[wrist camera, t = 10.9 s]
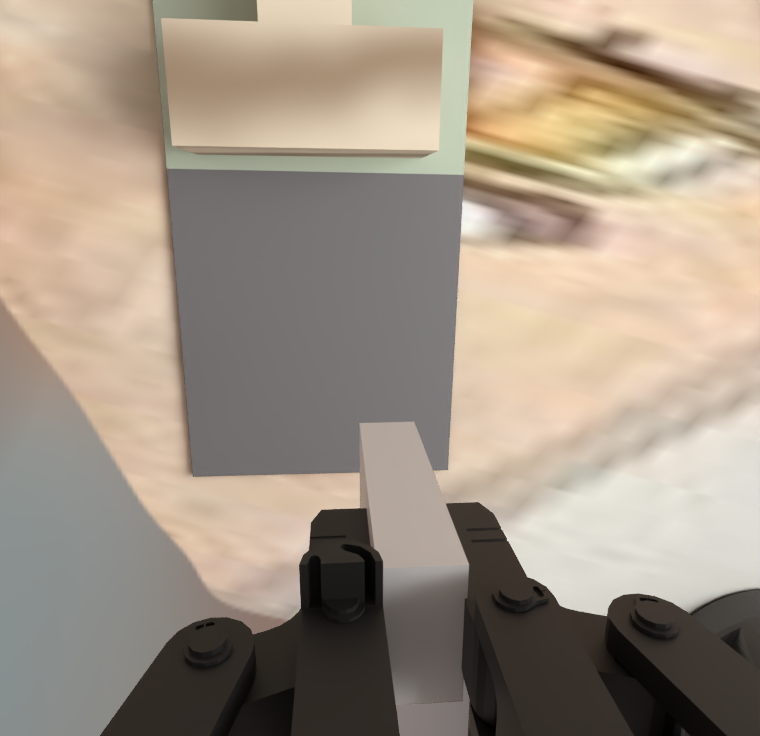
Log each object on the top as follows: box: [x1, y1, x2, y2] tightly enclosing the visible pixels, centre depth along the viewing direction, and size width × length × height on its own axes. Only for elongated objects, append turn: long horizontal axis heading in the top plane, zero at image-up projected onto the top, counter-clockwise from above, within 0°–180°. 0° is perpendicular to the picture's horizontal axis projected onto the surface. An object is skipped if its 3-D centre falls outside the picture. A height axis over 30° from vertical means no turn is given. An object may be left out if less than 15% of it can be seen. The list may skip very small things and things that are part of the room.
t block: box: [161, 0, 443, 158], centre depth 26 cm, size 13×12×5 cm
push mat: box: [152, 0, 473, 477], centre depth 30 cm, size 35×16×3 cm, turn 179°
